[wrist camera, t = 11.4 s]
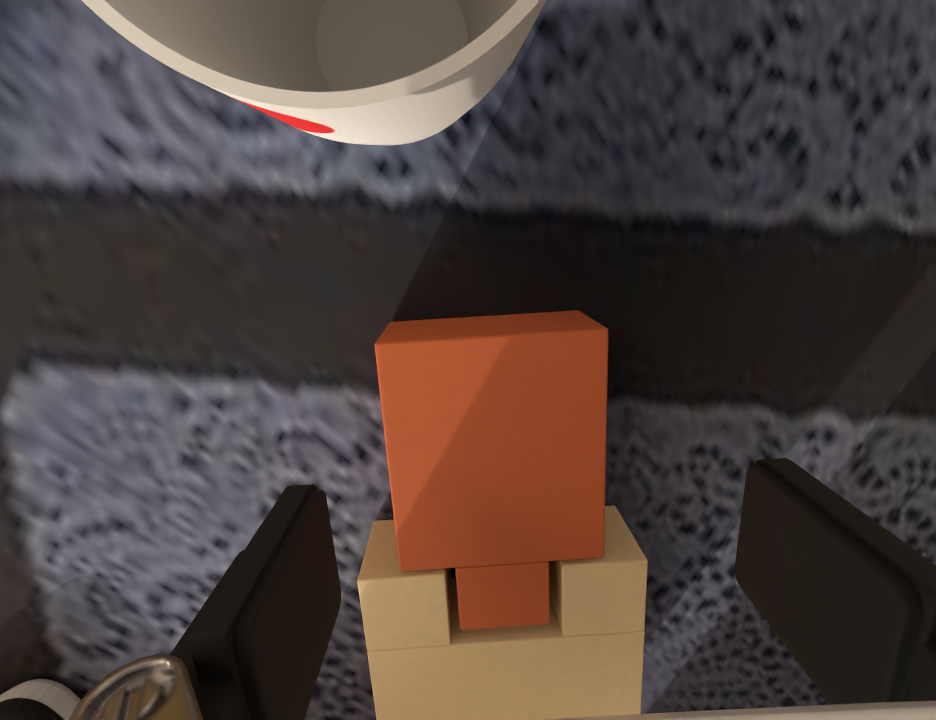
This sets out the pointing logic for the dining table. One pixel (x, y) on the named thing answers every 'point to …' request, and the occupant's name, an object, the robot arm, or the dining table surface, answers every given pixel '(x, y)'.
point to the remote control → (38, 701)
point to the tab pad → (496, 453)
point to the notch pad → (506, 639)
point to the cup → (336, 57)
